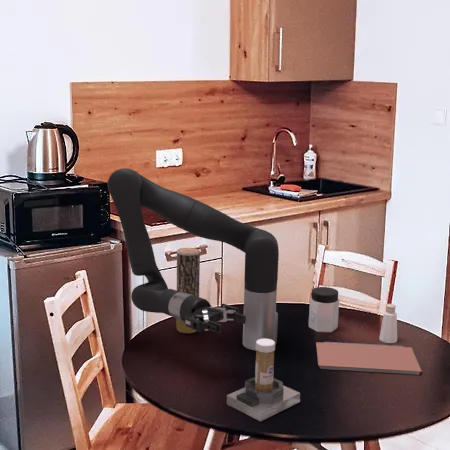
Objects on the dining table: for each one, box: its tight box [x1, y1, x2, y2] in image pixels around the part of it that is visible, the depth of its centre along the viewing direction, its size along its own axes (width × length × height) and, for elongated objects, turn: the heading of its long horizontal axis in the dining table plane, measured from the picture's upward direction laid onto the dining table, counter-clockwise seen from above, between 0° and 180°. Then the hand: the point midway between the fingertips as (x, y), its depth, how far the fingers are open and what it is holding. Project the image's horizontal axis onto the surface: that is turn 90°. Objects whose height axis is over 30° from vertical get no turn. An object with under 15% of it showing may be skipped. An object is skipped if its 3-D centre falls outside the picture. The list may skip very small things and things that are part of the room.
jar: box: [308, 286, 340, 333], centre depth 216 cm, size 9×8×12 cm
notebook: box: [315, 341, 422, 376], centre depth 196 cm, size 27×17×2 cm, turn 85°
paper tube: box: [175, 247, 201, 334], centre depth 210 cm, size 7×7×25 cm
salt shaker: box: [378, 303, 398, 344], centre depth 208 cm, size 5×5×11 cm
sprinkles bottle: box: [254, 339, 276, 392], centre depth 167 cm, size 5×5×13 cm
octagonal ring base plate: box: [226, 376, 301, 422], centre depth 169 cm, size 14×11×5 cm
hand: (232, 324), depth 175 cm, fingers open, 8 cm apart
